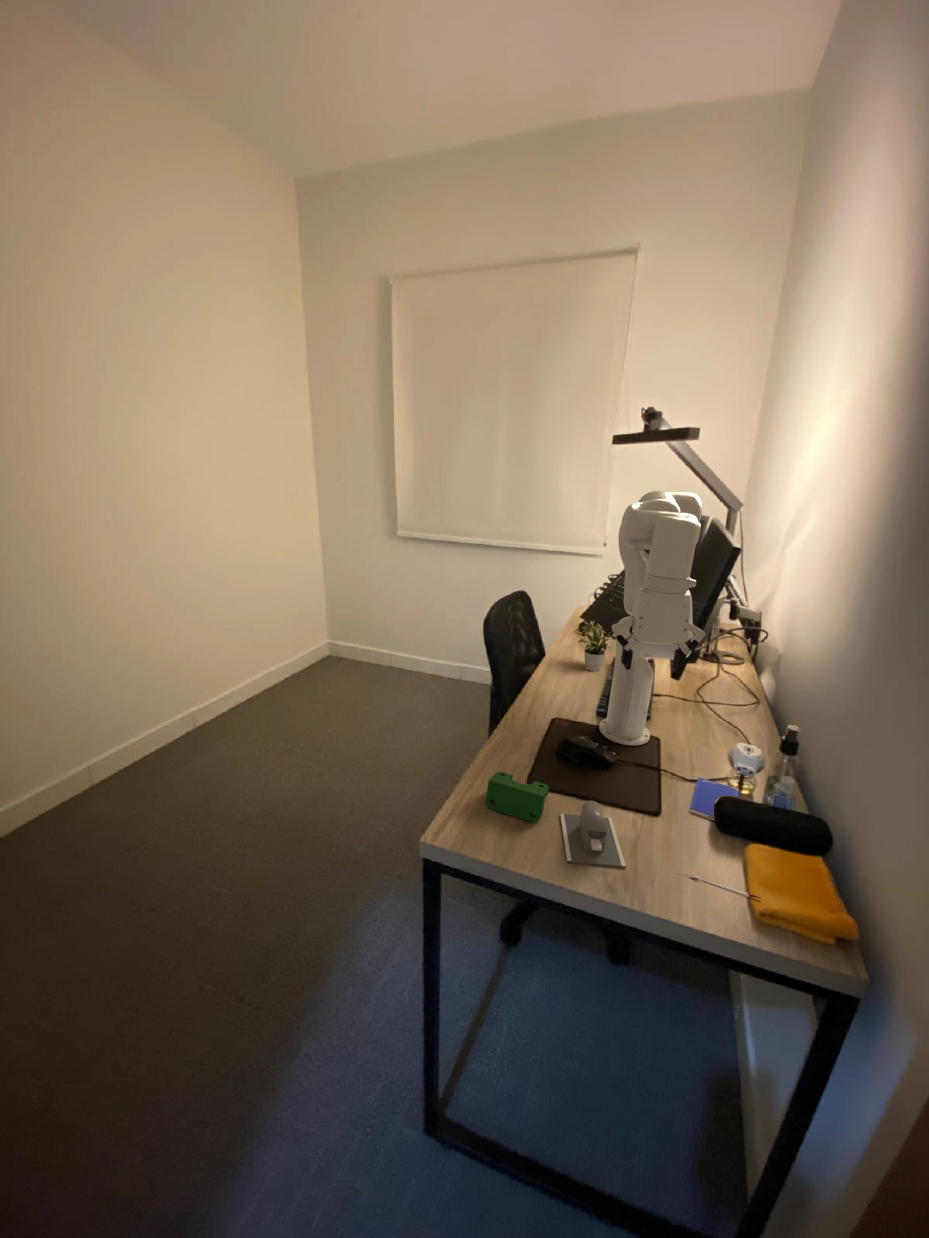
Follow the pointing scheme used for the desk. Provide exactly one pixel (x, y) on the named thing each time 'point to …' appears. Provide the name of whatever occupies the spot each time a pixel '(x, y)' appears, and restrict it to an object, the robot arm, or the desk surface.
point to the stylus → (713, 884)
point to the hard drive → (709, 796)
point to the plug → (592, 827)
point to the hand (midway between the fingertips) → (651, 668)
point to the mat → (580, 856)
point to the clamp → (516, 797)
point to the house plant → (594, 649)
